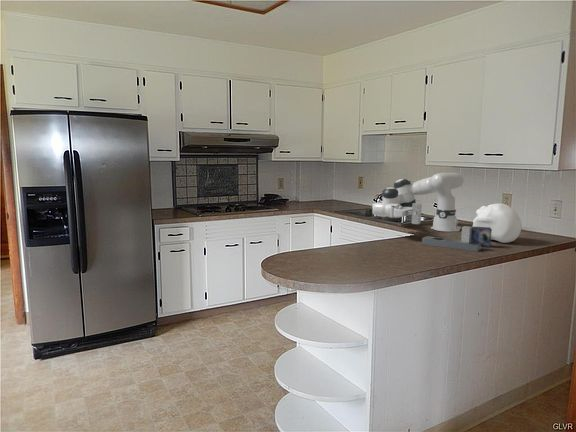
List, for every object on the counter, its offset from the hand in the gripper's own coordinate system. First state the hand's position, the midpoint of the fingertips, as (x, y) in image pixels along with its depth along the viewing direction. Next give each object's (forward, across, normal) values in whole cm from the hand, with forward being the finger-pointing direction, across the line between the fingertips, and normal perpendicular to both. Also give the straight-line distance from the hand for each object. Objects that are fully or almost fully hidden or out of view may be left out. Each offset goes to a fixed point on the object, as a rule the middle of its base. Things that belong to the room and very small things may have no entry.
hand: (418, 212), depth 247 cm
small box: (+34, -6, -17) cm, 38 cm away
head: (+36, -28, -17) cm, 49 cm away
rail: (+22, +6, -16) cm, 28 cm away
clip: (-1, 0, -7) cm, 7 cm away
